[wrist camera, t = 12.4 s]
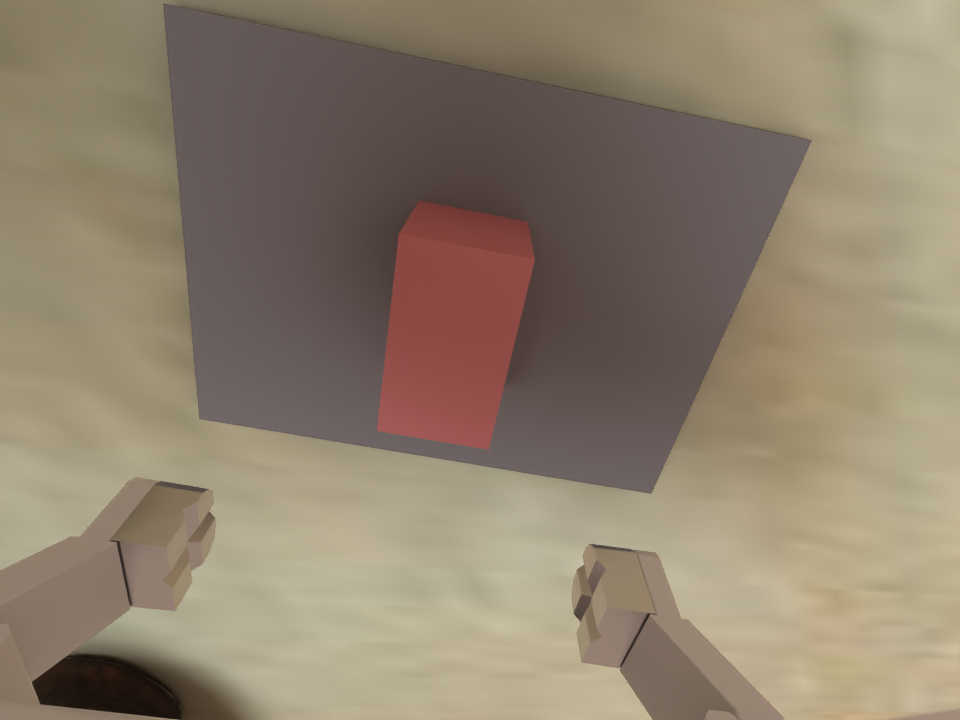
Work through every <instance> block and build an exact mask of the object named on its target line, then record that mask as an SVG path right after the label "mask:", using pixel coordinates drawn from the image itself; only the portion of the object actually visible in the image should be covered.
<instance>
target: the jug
mask: <svg viewBox="0 0 960 720" xmlns="http://www.w3.org/2000/svg"><path fill="white" fill-rule="evenodd" d="M32 685H33V687H34V690H35V692H36V695H37V697H38V700H39V702H40V704H41V705H50V706H59V707H68V708H77V709H86V710H95V711H104V712H113V713H122V714H131V715H140V716H149V717H158V718H167V719H176V720H182V718H181V709H180V705H179V704H177V703H175V700H174V697H173V695H172V694H170V693H169V692H168V691H167V690H166V689H165V688H164V687H163V686H161V685H159V684H157V683H155V682H154V681H152V680H151V679H149V678H148V677H146V676H144V675H143V674H141V673H140V672H138V671H133V670H131V669H129V668H128V667H126V666H123V665H121V664H117V663H112V662H108V661H104V660H99V659H87V658H76V657H68V658H63V659H62V660H61V661H59V662H58V663H57V664H55V665H54V666H53V667H51V668H50V669H49V670H47V671H46V672H44V673H43V674H42V675H40V676H39V677H38V678H36V679H35V680H34V681H32ZM170 691H171V690H170ZM171 693H172V692H171ZM183 717H184V716H183Z"/></svg>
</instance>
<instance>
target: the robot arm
mask: <svg viewBox="0 0 960 720" xmlns="http://www.w3.org/2000/svg"><path fill="white" fill-rule="evenodd" d="M213 503H214V500H213V492H212V491H211V490H209V489H204V488H198V487H193V486H187V485H181V484H175V483H169V482H163V481H155V480H149V479H143V478H137V477H136V478H134V479H132V480H130V481H129V482H127V483H126V485H125V486H124V487H123V488H122V489H121V490H120V491H119V493H118V494H117V495H116V496H115V497H114V498H113V499H112V501H111V502H110V503H109V504H108V505H107V506H106V507H105V509H104V510H103V511H102V512H101V513H100V514H99V515H98V517H97V518H96V519H95V520H94V521H93V522H92V523H91V525H90V526H89V527H88V528H87V529H86V530H85V531H84V533H83V534H82V535H81V536H80V537H74V536H71V537H69V538H67V539H65V540H63V541H61V542H59V543H57V544H55V545H52V546H50V547H48V548H46V549H44V550H42V551H40V552H38V553H36V554H34V555H32V556H30V557H28V558H26V559H23V560H21V561H19V562H17V563H15V564H13V565H11V566H9V567H7V568H5V569H3V570H1V571H0V720H176V719H167V718H158V717H149V716H140V715H131V714H122V713H113V712H104V711H95V710H86V709H77V708H68V707H59V706H50V705H41V704H40V702H39V700H38V697H37V695H36V692H35V690H34V687H33V685H32V681H34V680H35V679H36V678H38V677H39V676H40V675H42V674H43V673H44V672H46V671H47V670H49V669H50V668H51V667H53V666H54V665H55V664H57V663H58V662H59V661H61V660H62V659H63V658H65V657H66V656H67V655H69V654H70V653H72V652H73V651H74V650H76V649H77V648H78V647H80V646H81V645H82V644H84V643H85V642H86V641H88V640H89V639H90V638H92V637H93V636H95V635H96V634H97V633H99V632H100V631H101V630H103V629H104V628H105V627H107V626H108V625H109V624H111V623H112V622H113V621H115V620H116V619H118V618H119V617H120V616H122V615H123V614H124V613H126V612H127V611H128V610H130V606H131V607H141V608H151V609H161V610H171V611H176V609H177V607H178V606H179V604H180V602H181V600H182V599H183V597H184V595H185V593H186V592H187V590H188V588H189V587H190V585H191V583H192V576H191V571H192V570H193V569H195V568H196V567H198V566H200V565H201V564H203V562H204V560H205V559H206V557H207V555H208V553H209V551H210V548H211V545H212V542H213V539H214V535H215V527H216V526H215V518H214V517H213V515H212V514H211V513H210V512H209V510H210V508H211V507H212V505H213ZM583 559H584V565H583V566H581V567H580V568H578V569H577V571H576V574H575V577H574V580H573V587H572V605H573V612H574V614H575V616H576V617H577V618H578V619H579V620H580V622H581V623H580V626H579V628H578V630H577V638H578V644H579V650H580V656H581V662H583V663H589V664H596V665H602V666H608V667H615V668H621V669H620V671H621V673H622V674H623V676H624V677H625V679H626V680H627V682H628V683H629V685H630V686H631V688H632V689H633V691H634V692H635V694H636V695H637V697H638V698H639V700H640V701H641V703H642V704H643V706H644V707H645V709H646V710H647V712H648V713H649V715H650V716H651V718H652V719H653V720H784V718H783V716H782V715H781V714H780V713H779V712H778V711H777V710H776V709H775V708H774V707H773V706H772V705H771V704H770V703H769V702H768V701H767V700H766V699H765V698H764V697H763V696H762V695H761V694H760V693H759V692H758V691H757V690H756V689H755V688H754V687H753V686H752V685H751V684H750V683H749V682H748V681H747V680H746V678H745V677H744V676H743V675H742V674H741V673H740V672H739V671H738V670H737V669H736V668H735V667H734V666H733V665H732V664H731V663H730V662H729V661H728V660H727V659H726V658H725V657H724V656H723V655H722V654H721V653H720V652H719V651H718V650H717V649H716V648H715V647H714V646H713V645H712V644H711V643H710V642H709V641H708V640H707V639H706V638H705V637H704V636H703V635H702V634H701V632H700V631H699V630H698V629H697V628H696V627H695V626H694V625H693V624H692V623H691V622H690V621H689V620H687V619H681V616H680V614H679V611H678V608H677V605H676V602H675V600H674V597H673V594H672V591H671V588H670V586H669V583H668V580H667V577H666V575H665V572H664V569H663V566H662V563H661V561H660V558H659V556H658V555H657V554H656V553H654V552H646V551H639V550H631V549H625V548H617V547H610V546H602V545H595V544H589V545H588V546H587V547H586V549H585V551H584V554H583Z"/></svg>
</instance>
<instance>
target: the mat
mask: <svg viewBox="0 0 960 720" xmlns="http://www.w3.org/2000/svg"><path fill="white" fill-rule="evenodd" d="M163 5H164V16H165V28H166V39H167V51H168V62H169V74H170V85H171V97H172V108H173V120H174V131H175V143H176V154H177V166H178V177H179V189H180V200H181V212H182V223H183V235H184V246H185V258H186V269H187V281H188V292H189V304H190V315H191V327H192V339H193V350H194V362H195V373H196V385H197V396H198V408H199V419H203V420H209V421H215V422H221V423H227V424H233V425H239V426H246V427H252V428H258V429H264V430H270V431H276V432H282V433H288V434H294V435H300V436H306V437H312V438H318V439H324V440H330V441H336V442H342V443H348V444H354V445H360V446H366V447H372V448H378V449H384V450H390V451H396V452H403V453H409V454H415V455H421V456H427V457H433V458H439V459H445V460H451V461H457V462H463V463H469V464H475V465H481V466H487V467H493V468H499V469H505V470H511V471H517V472H523V473H529V474H535V475H541V476H547V477H553V478H560V479H566V480H572V481H578V482H584V483H590V484H596V485H602V486H608V487H614V488H620V489H626V490H632V491H638V492H644V493H650V494H651V493H652V491H653V489H654V487H655V484H656V482H657V480H658V478H659V476H660V473H661V471H662V469H663V467H664V465H665V462H666V460H667V458H668V456H669V454H670V451H671V449H672V447H673V445H674V443H675V440H676V438H677V436H678V434H679V432H680V429H681V427H682V425H683V423H684V421H685V418H686V416H687V414H688V412H689V410H690V407H691V405H692V403H693V401H694V399H695V396H696V394H697V392H698V390H699V387H700V385H701V383H702V381H703V379H704V376H705V374H706V372H707V370H708V368H709V365H710V363H711V361H712V359H713V357H714V354H715V352H716V350H717V348H718V346H719V343H720V341H721V339H722V337H723V335H724V332H725V330H726V328H727V326H728V324H729V321H730V319H731V317H732V315H733V313H734V310H735V308H736V306H737V304H738V302H739V299H740V297H741V295H742V293H743V291H744V288H745V286H746V284H747V282H748V280H749V277H750V275H751V273H752V271H753V269H754V266H755V264H756V262H757V260H758V258H759V255H760V253H761V251H762V249H763V247H764V244H765V242H766V240H767V238H768V236H769V233H770V231H771V229H772V227H773V225H774V222H775V220H776V218H777V216H778V214H779V211H780V209H781V207H782V205H783V203H784V200H785V198H786V196H787V194H788V191H789V189H790V187H791V185H792V183H793V180H794V178H795V176H796V174H797V172H798V169H799V167H800V165H801V163H802V161H803V158H804V156H805V154H806V152H807V150H808V147H809V145H810V143H811V141H812V140H807V139H803V138H798V137H793V136H789V135H784V134H779V133H774V132H770V131H765V130H760V129H756V128H751V127H746V126H741V125H737V124H732V123H727V122H722V121H718V120H713V119H708V118H703V117H699V116H694V115H689V114H685V113H680V112H675V111H670V110H666V109H661V108H656V107H651V106H647V105H642V104H637V103H632V102H628V101H623V100H618V99H614V98H609V97H604V96H599V95H595V94H590V93H585V92H580V91H576V90H571V89H566V88H561V87H557V86H552V85H547V84H543V83H538V82H533V81H528V80H524V79H519V78H514V77H509V76H505V75H500V74H495V73H490V72H486V71H481V70H476V69H472V68H467V67H462V66H457V65H453V64H448V63H443V62H438V61H434V60H429V59H424V58H419V57H415V56H410V55H405V54H401V53H396V52H391V51H386V50H382V49H377V48H372V47H367V46H363V45H358V44H353V43H348V42H344V41H339V40H334V39H330V38H325V37H320V36H315V35H311V34H306V33H301V32H296V31H292V30H287V29H282V28H277V27H273V26H268V25H263V24H259V23H254V22H249V21H244V20H240V19H235V18H230V17H225V16H221V15H216V14H211V13H206V12H202V11H197V10H192V9H188V8H183V7H178V6H173V5H168V4H163ZM419 201H424V202H429V203H435V204H440V205H445V206H450V207H455V208H460V209H465V210H470V211H476V212H481V213H486V214H491V215H496V216H501V217H506V218H511V219H517V220H522V221H527V222H528V226H529V231H530V236H531V242H532V247H533V252H534V257H535V261H534V266H533V270H532V274H531V278H530V282H529V286H528V290H527V294H526V298H525V302H524V307H523V311H522V315H521V319H520V323H519V327H518V331H517V335H516V339H515V344H514V348H513V352H512V356H511V360H510V364H509V368H508V372H507V376H506V380H505V385H504V389H503V393H502V397H501V401H500V405H499V409H498V413H497V417H496V422H495V426H494V430H493V434H492V438H491V442H490V446H489V450H487V449H481V448H475V447H469V446H463V445H457V444H451V443H445V442H440V441H434V440H428V439H422V438H416V437H410V436H404V435H398V434H392V433H386V432H380V431H377V425H378V416H379V407H380V398H381V389H382V380H383V371H384V362H385V353H386V344H387V335H388V327H389V318H390V309H391V300H392V291H393V282H394V273H395V264H396V255H397V246H398V237H399V233H400V231H401V230H402V228H403V226H404V225H405V223H406V221H407V220H408V218H409V217H410V215H411V213H412V212H413V210H414V208H415V207H416V205H417V204H418V202H419Z"/></svg>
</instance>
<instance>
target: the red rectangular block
mask: <svg viewBox="0 0 960 720" xmlns="http://www.w3.org/2000/svg"><path fill="white" fill-rule="evenodd" d="M534 261H535V257H534V252H533V247H532V242H531V236H530V231H529V226H528V222H527V221H522V220H517V219H511V218H506V217H501V216H496V215H491V214H486V213H481V212H476V211H470V210H465V209H460V208H455V207H450V206H445V205H440V204H435V203H429V202H424V201H419V202H418V204H417V205H416V207H415V208H414V210H413V212H412V213H411V215H410V217H409V218H408V220H407V221H406V223H405V225H404V226H403V228H402V230H401V231H400V233H399V237H398V246H397V255H396V264H395V273H394V282H393V291H392V300H391V309H390V318H389V327H388V335H387V344H386V353H385V362H384V371H383V380H382V389H381V398H380V407H379V416H378V425H377V431H380V432H386V433H392V434H398V435H404V436H410V437H416V438H422V439H428V440H434V441H440V442H445V443H451V444H457V445H463V446H469V447H475V448H481V449H487V450H489V446H490V442H491V438H492V434H493V430H494V426H495V422H496V417H497V413H498V409H499V405H500V401H501V397H502V393H503V389H504V385H505V380H506V376H507V372H508V368H509V364H510V360H511V356H512V352H513V348H514V344H515V339H516V335H517V331H518V327H519V323H520V319H521V315H522V311H523V307H524V302H525V298H526V294H527V290H528V286H529V282H530V278H531V274H532V270H533V266H534Z"/></svg>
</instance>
